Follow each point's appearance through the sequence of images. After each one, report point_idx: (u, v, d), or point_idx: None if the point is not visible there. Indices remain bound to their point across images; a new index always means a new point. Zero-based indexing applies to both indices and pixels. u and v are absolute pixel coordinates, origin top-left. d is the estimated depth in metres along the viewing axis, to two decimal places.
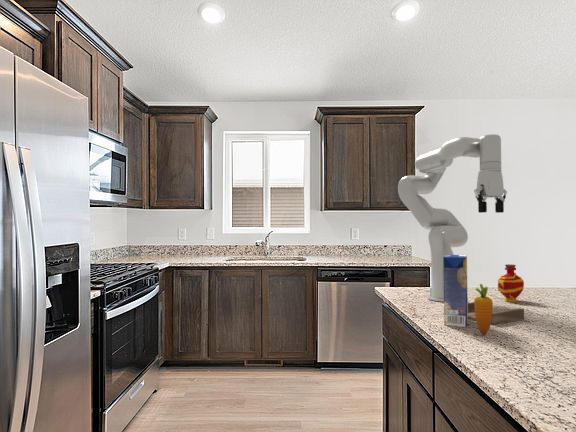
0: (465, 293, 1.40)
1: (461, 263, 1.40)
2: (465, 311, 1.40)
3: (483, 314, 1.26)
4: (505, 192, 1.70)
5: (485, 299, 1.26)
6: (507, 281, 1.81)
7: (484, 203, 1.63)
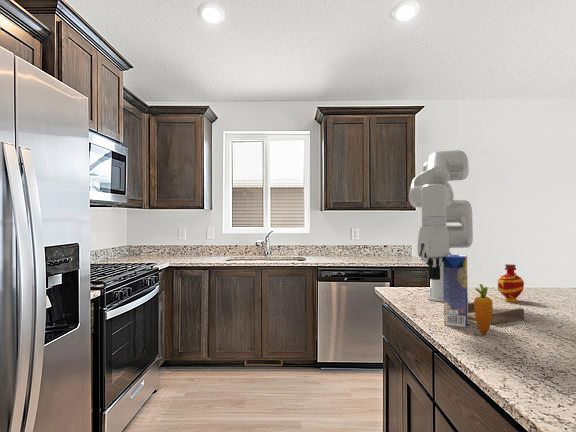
0: (465, 293, 1.40)
1: (461, 263, 1.40)
2: (465, 311, 1.40)
3: (483, 314, 1.26)
4: None
5: (485, 299, 1.26)
6: (507, 281, 1.81)
7: (435, 269, 1.40)
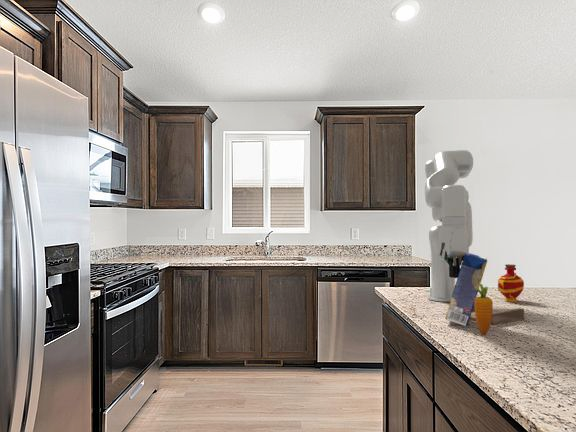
0: (475, 295, 1.38)
1: (480, 264, 1.38)
2: (470, 312, 1.39)
3: (483, 314, 1.26)
4: None
5: (485, 299, 1.26)
6: (507, 281, 1.81)
7: (455, 267, 1.44)
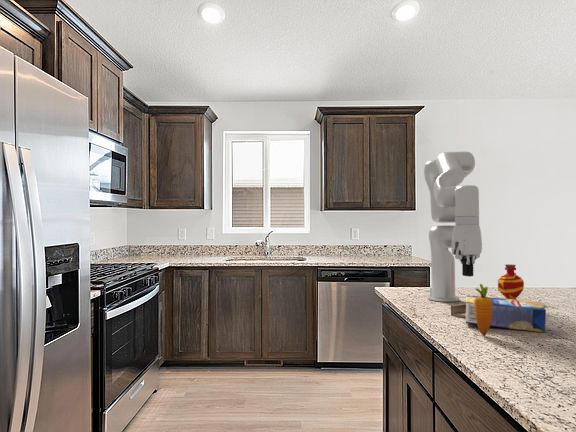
0: (502, 326, 1.35)
1: (538, 326, 1.32)
2: None
3: (483, 314, 1.26)
4: (478, 255, 1.50)
5: (485, 299, 1.26)
6: (507, 281, 1.81)
7: (468, 266, 1.47)
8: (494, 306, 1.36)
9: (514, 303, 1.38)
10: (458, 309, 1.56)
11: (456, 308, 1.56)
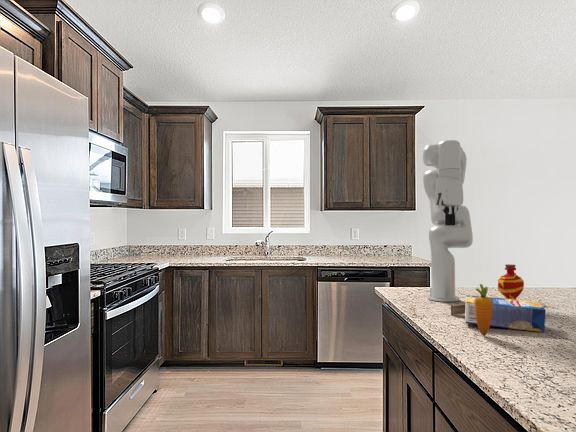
0: (502, 326, 1.35)
1: (537, 326, 1.32)
2: None
3: (483, 314, 1.26)
4: (459, 207, 1.61)
5: (485, 299, 1.26)
6: (507, 281, 1.81)
7: (451, 216, 1.58)
8: (494, 306, 1.36)
9: (514, 303, 1.39)
10: (458, 309, 1.56)
11: (456, 308, 1.56)
